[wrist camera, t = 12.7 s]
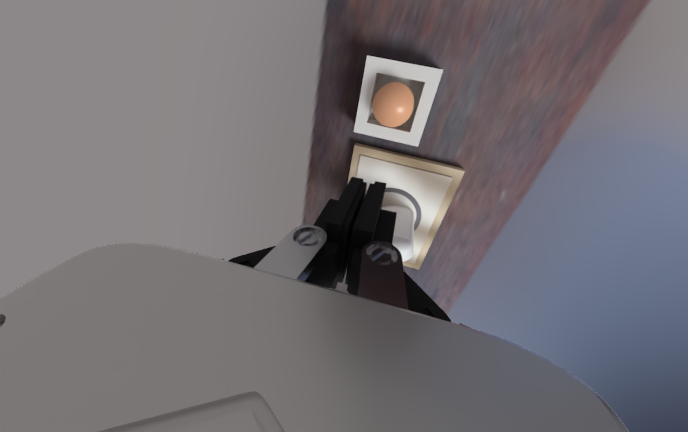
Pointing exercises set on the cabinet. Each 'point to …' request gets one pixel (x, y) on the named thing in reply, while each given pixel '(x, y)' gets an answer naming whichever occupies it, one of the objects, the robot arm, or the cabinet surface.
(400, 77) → the button housing
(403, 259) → the eye dropper bottle
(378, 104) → the button
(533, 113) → the cabinet surface
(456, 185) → the cream flat rectangular panel
